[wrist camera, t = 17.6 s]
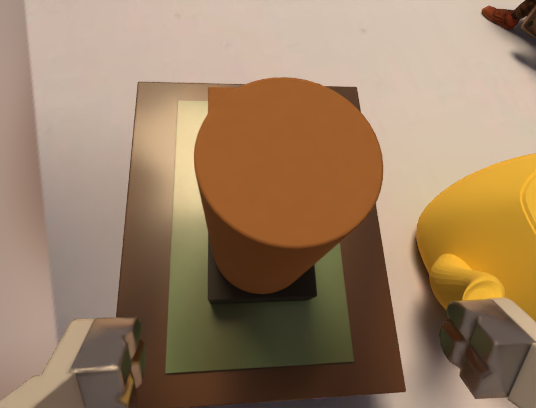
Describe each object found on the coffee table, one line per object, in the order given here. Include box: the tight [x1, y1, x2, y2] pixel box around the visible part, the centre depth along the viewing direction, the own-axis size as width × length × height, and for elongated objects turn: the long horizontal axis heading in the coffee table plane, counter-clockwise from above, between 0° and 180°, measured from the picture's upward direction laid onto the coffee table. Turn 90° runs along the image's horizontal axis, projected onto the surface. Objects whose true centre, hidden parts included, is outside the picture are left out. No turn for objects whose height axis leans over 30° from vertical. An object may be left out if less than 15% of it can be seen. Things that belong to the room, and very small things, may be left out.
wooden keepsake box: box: [116, 82, 406, 408], centre depth 22 cm, size 14×18×6 cm
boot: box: [194, 77, 383, 305], centre depth 15 cm, size 5×10×11 cm, turn 3°
